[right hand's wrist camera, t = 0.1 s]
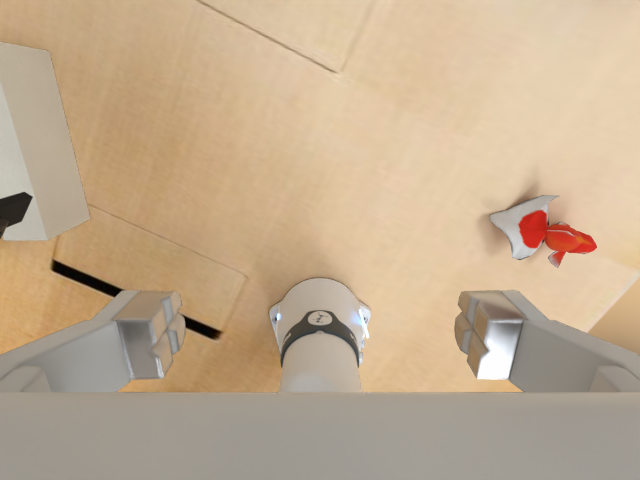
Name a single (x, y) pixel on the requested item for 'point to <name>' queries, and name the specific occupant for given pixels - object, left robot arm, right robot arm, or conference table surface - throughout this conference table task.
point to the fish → (539, 231)
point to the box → (37, 146)
